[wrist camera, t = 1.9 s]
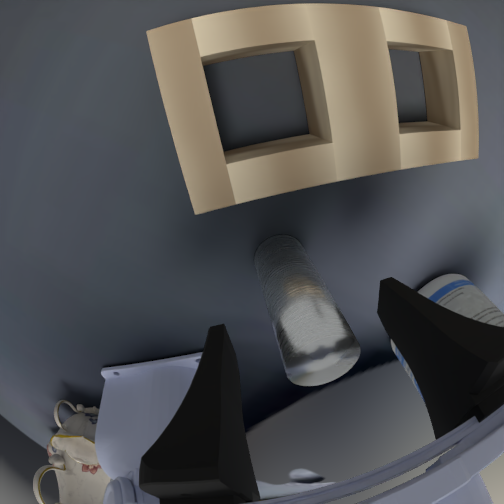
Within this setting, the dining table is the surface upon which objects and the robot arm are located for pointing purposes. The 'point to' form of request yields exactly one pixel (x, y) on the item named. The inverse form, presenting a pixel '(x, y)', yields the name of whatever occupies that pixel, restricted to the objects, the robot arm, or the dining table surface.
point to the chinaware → (75, 459)
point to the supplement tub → (457, 305)
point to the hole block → (317, 97)
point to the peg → (303, 314)
